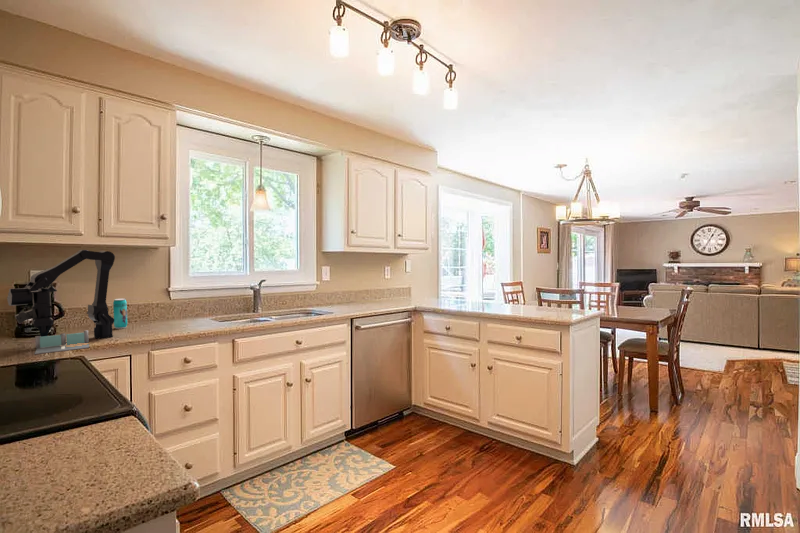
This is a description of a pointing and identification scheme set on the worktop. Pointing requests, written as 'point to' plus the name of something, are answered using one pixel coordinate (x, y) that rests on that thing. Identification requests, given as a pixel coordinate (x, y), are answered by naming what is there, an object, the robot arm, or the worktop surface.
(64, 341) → the fence gate
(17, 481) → the worktop surface
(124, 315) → the beverage can
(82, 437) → the worktop surface
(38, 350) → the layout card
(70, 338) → the fence fixed
